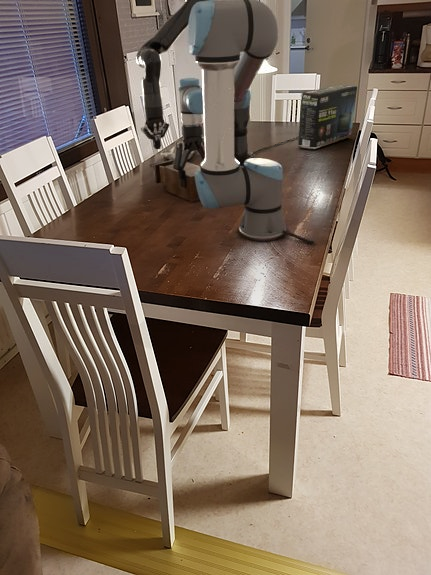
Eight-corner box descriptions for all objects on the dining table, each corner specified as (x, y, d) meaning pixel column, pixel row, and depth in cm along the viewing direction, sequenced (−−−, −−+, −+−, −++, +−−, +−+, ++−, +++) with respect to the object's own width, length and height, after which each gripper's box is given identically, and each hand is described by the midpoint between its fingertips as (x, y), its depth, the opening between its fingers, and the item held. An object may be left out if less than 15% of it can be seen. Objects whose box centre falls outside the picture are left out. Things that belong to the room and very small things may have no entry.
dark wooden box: (165, 190, 187) (163, 166, 182) (186, 184, 193) (184, 161, 188) (192, 202, 176) (190, 176, 171) (212, 195, 181) (212, 170, 176)
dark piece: (147, 179, 196) (145, 161, 192) (165, 174, 201) (164, 156, 197) (178, 192, 182) (176, 173, 178) (196, 187, 187) (195, 168, 183)
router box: (314, 151, 231) (318, 94, 217) (296, 148, 237) (299, 92, 224) (352, 138, 251) (358, 85, 238) (335, 135, 258) (340, 83, 245)
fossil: (184, 156, 217) (163, 136, 220) (174, 174, 223) (154, 154, 227) (205, 153, 231) (186, 134, 234) (195, 171, 237) (176, 152, 240)
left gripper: (161, 101, 188) (165, 144, 197) (133, 106, 181) (139, 150, 190) (172, 103, 183) (175, 147, 192) (144, 108, 176) (149, 153, 185)
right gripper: (209, 118, 176) (211, 174, 187) (159, 128, 164) (165, 188, 175) (222, 120, 171) (223, 178, 182) (172, 131, 159) (177, 193, 170)
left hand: (157, 148), depth 191 cm, fingers closed
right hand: (195, 183), depth 179 cm, fingers closed on dark wooden box, 10 cm apart
